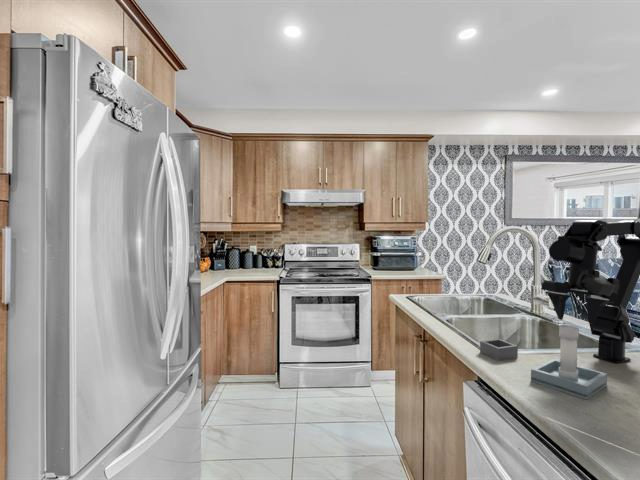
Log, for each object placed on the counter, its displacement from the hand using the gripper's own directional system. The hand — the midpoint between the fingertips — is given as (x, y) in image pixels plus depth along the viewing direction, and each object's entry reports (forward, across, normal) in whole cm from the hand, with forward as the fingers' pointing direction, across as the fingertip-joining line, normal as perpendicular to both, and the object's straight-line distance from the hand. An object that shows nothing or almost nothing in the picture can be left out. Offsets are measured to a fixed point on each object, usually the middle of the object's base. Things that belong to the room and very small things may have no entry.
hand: (575, 321), depth 99 cm
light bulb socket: (+14, -14, +12) cm, 23 cm away
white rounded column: (+13, -8, -9) cm, 18 cm away
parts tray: (+14, -8, -9) cm, 19 cm away
